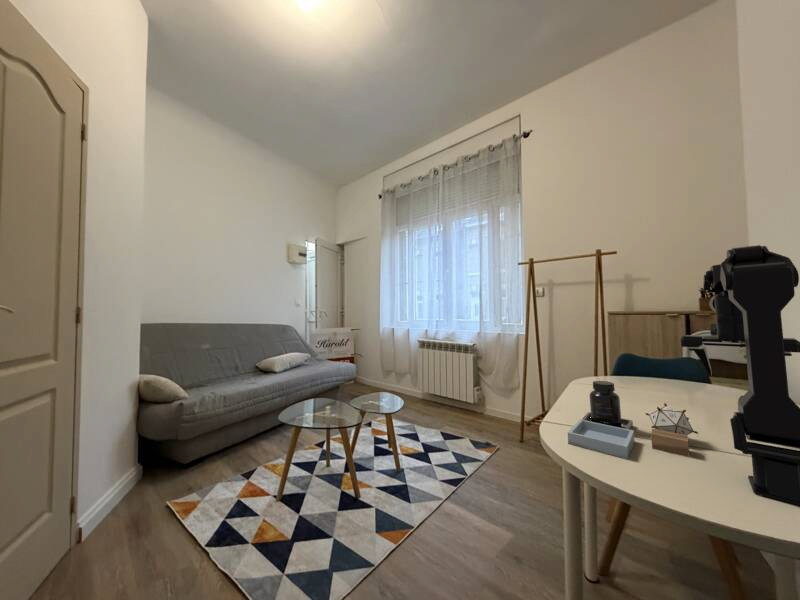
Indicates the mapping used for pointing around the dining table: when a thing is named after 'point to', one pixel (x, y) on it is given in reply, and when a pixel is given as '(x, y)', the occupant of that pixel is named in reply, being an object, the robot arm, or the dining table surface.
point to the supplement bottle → (605, 404)
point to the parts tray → (602, 438)
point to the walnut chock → (670, 442)
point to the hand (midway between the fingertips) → (738, 378)
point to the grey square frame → (623, 421)
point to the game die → (671, 420)
